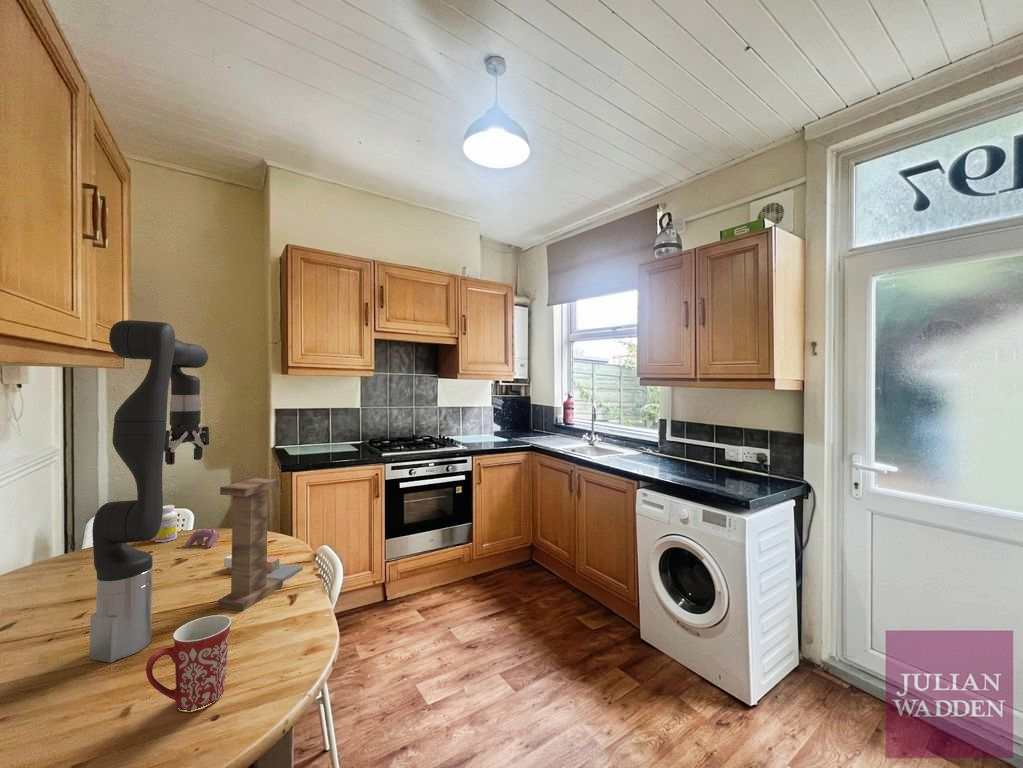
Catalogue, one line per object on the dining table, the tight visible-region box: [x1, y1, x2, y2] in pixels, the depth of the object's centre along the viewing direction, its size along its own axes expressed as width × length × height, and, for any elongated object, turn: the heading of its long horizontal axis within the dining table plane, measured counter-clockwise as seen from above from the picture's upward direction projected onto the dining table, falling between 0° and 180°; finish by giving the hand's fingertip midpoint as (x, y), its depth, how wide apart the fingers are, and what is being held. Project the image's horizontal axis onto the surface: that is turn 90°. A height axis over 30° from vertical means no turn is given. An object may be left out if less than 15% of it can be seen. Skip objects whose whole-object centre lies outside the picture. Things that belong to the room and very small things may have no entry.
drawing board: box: [267, 563, 304, 582], centre depth 131 cm, size 9×16×1 cm, turn 78°
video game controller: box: [185, 528, 220, 549], centre depth 154 cm, size 10×5×7 cm, turn 86°
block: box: [223, 553, 280, 573], centre depth 133 cm, size 3×18×3 cm, turn 79°
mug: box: [145, 614, 232, 711], centre depth 77 cm, size 13×9×14 cm
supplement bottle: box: [154, 504, 178, 543], centre depth 159 cm, size 7×7×13 cm
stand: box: [217, 477, 284, 612], centre depth 117 cm, size 14×9×32 cm, turn 168°
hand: (184, 462), depth 127 cm, fingers open, 8 cm apart
